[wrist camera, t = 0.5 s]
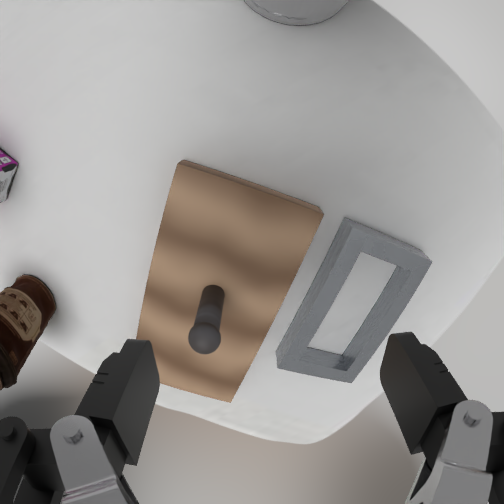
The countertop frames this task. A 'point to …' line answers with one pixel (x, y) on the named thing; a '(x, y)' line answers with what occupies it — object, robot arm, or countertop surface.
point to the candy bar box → (6, 174)
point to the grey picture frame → (327, 288)
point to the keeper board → (220, 276)
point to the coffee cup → (21, 324)
